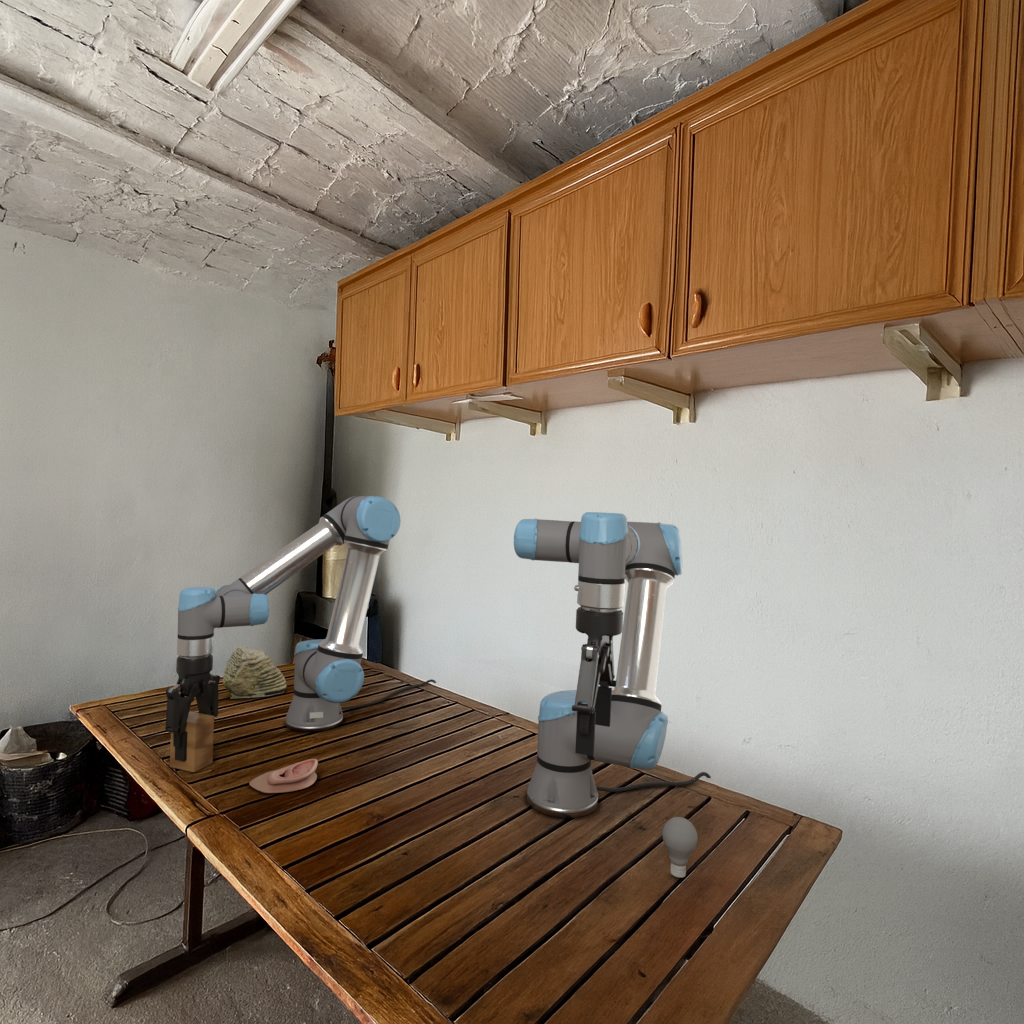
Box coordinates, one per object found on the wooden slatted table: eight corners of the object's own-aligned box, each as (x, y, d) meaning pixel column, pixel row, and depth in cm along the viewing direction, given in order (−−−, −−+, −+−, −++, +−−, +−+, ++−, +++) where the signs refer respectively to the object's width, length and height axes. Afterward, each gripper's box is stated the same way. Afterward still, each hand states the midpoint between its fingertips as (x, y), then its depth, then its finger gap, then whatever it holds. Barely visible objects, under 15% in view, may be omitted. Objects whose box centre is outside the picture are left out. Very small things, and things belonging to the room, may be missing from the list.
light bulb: (655, 865, 113) (658, 810, 113) (688, 865, 114) (691, 810, 114) (666, 886, 107) (669, 827, 107) (701, 886, 108) (704, 827, 108)
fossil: (218, 695, 195) (220, 647, 195) (278, 685, 208) (279, 640, 207) (228, 703, 189) (230, 653, 188) (289, 692, 201) (290, 645, 201)
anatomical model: (241, 770, 135) (272, 750, 146) (240, 789, 135) (271, 767, 146) (297, 779, 132) (324, 757, 144) (297, 798, 132) (324, 775, 144)
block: (188, 757, 150) (190, 711, 150) (212, 763, 148) (214, 715, 148) (169, 766, 145) (171, 718, 145) (193, 772, 143) (195, 723, 142)
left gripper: (213, 645, 156) (210, 738, 156) (147, 662, 138) (144, 767, 139) (237, 648, 153) (234, 743, 154) (174, 666, 136) (170, 773, 136)
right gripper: (593, 595, 115) (587, 711, 115) (557, 617, 92) (550, 763, 92) (634, 599, 113) (628, 718, 113) (608, 623, 89) (601, 772, 89)
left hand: (191, 754), depth 146 cm, fingers closed on block, 5 cm apart
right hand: (593, 738), depth 102 cm, fingers open, 13 cm apart
